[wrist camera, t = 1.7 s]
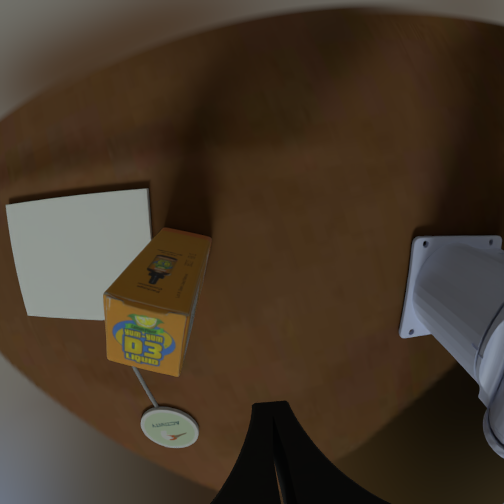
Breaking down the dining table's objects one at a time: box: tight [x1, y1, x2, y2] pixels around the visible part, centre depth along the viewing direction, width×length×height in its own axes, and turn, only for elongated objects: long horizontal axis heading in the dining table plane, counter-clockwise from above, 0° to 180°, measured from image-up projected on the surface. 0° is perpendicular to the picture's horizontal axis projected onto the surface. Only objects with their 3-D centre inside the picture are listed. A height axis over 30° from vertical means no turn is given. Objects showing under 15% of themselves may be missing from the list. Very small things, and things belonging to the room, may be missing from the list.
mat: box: [6, 188, 153, 320], centre depth 20 cm, size 12×9×1 cm
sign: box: [132, 366, 199, 448], centre depth 23 cm, size 5×1×15 cm
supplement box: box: [103, 227, 212, 377], centre depth 16 cm, size 3×3×10 cm
